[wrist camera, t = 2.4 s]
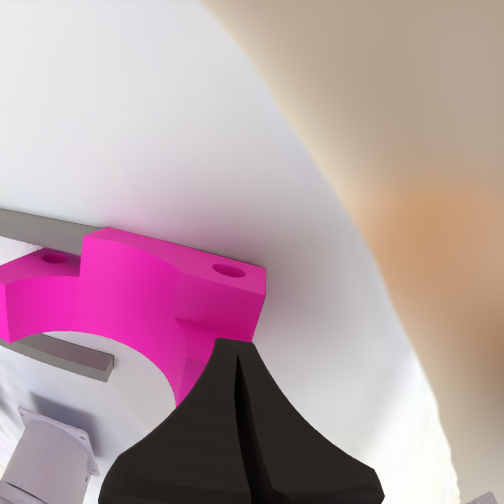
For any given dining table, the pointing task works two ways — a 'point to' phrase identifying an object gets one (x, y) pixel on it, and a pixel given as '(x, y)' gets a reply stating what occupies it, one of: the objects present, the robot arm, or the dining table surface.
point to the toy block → (135, 299)
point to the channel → (40, 345)
